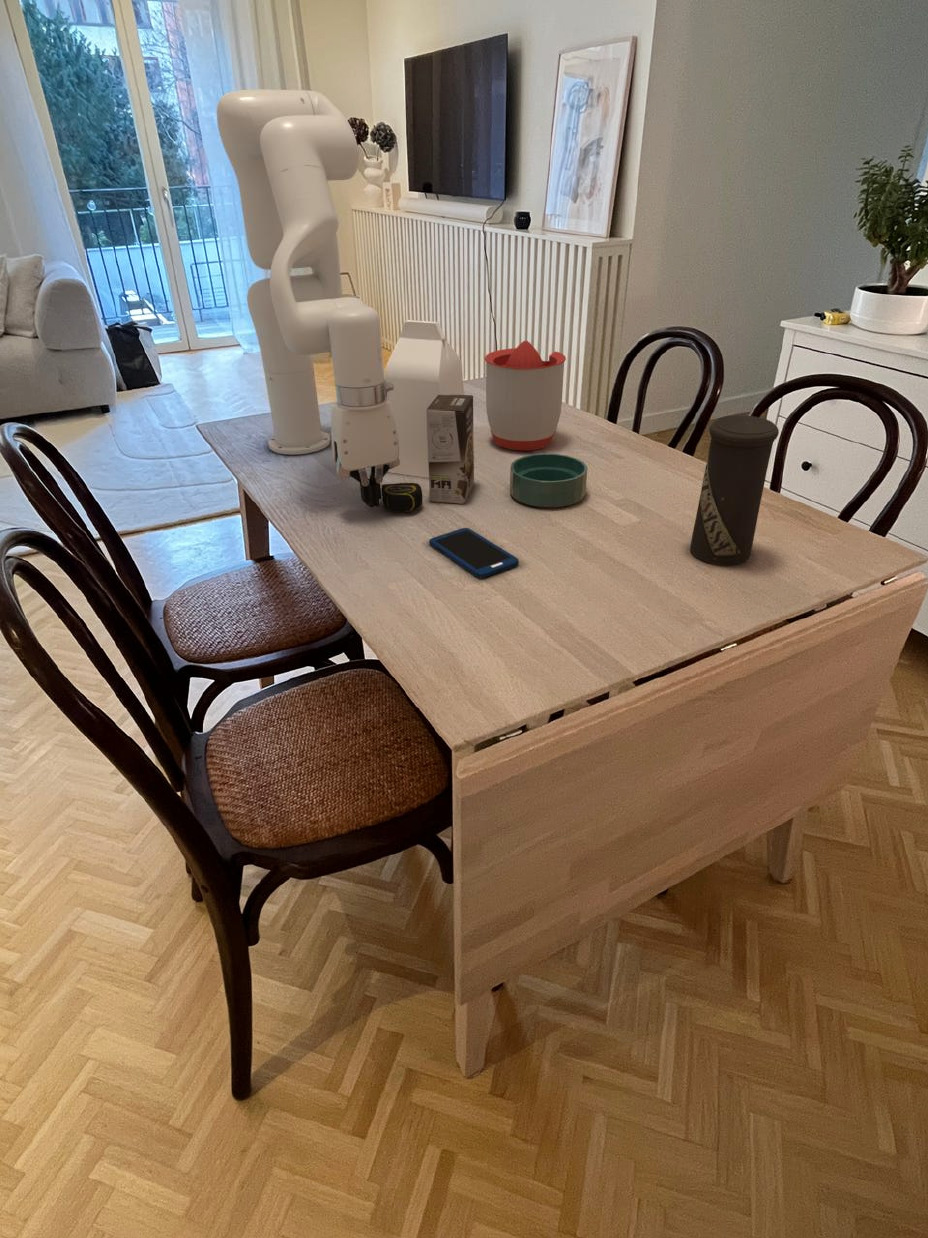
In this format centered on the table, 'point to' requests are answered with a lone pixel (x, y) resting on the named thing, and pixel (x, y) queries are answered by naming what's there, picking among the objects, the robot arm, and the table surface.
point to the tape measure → (401, 496)
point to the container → (732, 489)
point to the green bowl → (548, 480)
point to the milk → (419, 388)
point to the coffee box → (450, 448)
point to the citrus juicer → (523, 396)
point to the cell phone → (473, 552)
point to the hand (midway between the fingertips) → (372, 504)
